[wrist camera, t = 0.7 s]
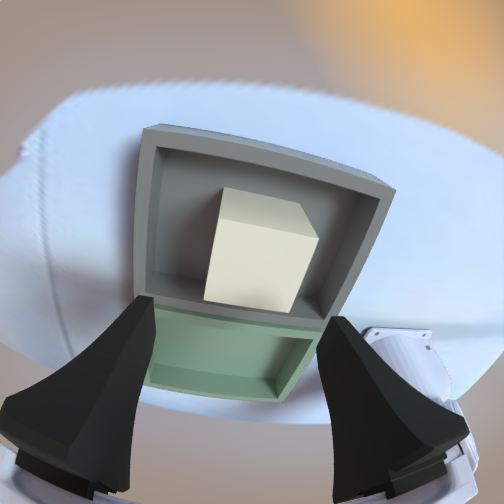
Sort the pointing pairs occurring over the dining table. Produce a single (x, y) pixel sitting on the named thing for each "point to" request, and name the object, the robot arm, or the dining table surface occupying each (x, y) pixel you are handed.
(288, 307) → the stone block
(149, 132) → the tray
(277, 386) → the tray
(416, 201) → the dining table surface
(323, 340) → the robot arm
